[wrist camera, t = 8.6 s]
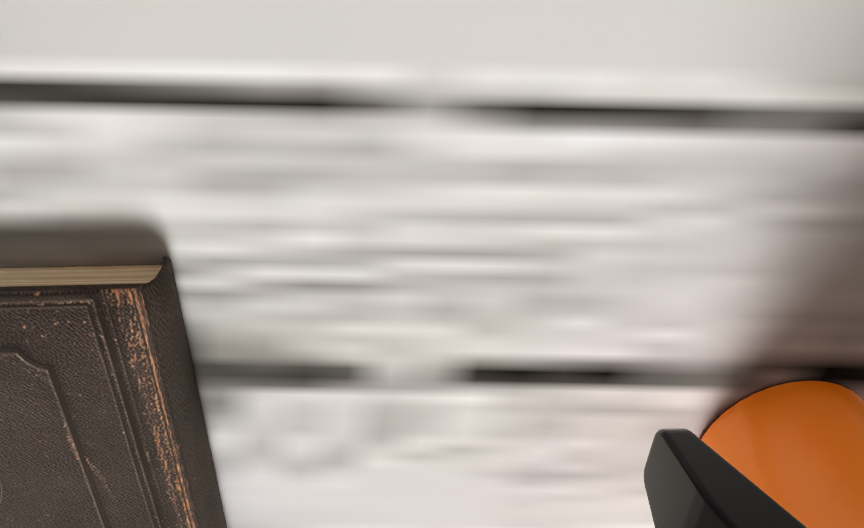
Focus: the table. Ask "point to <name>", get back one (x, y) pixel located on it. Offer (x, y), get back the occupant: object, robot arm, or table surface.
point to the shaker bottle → (800, 449)
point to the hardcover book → (100, 403)
